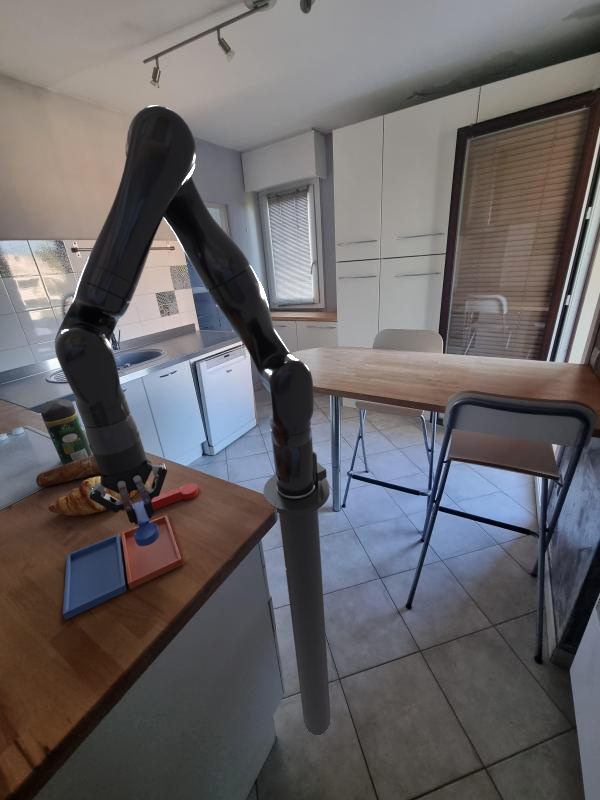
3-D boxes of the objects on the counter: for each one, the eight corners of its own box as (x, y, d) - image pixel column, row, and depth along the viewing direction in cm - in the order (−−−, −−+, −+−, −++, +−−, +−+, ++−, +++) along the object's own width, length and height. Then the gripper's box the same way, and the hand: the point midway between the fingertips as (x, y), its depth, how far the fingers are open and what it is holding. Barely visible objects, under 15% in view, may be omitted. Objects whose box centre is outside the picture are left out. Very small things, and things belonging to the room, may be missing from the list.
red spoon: (153, 513, 75) (150, 505, 74) (150, 503, 78) (148, 496, 77) (200, 495, 80) (198, 487, 79) (195, 486, 83) (194, 479, 82)
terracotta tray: (168, 519, 73) (166, 514, 72) (182, 564, 62) (181, 558, 61) (123, 537, 69) (121, 532, 68) (130, 589, 57) (127, 583, 57)
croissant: (153, 494, 87) (147, 463, 87) (149, 499, 77) (143, 465, 78) (58, 519, 79) (52, 486, 80) (41, 529, 70) (34, 492, 70)
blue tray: (120, 538, 68) (118, 533, 68) (127, 590, 57) (124, 585, 57) (69, 559, 64) (66, 554, 64) (65, 619, 53) (62, 614, 53)
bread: (118, 472, 91) (112, 455, 89) (36, 493, 85) (28, 475, 83) (120, 461, 96) (115, 444, 94) (43, 479, 90) (35, 462, 88)
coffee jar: (60, 457, 101) (36, 401, 93) (89, 448, 105) (69, 393, 98) (63, 471, 93) (38, 412, 86) (95, 460, 98) (73, 402, 90)
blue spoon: (130, 514, 66) (127, 505, 65) (151, 506, 68) (149, 497, 67) (137, 550, 58) (134, 540, 57) (161, 539, 60) (158, 530, 59)
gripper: (154, 421, 63) (175, 494, 70) (70, 445, 57) (102, 523, 64) (161, 437, 57) (183, 515, 64) (68, 465, 51) (104, 548, 58)
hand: (143, 518), depth 64 cm, fingers closed on blue spoon, 2 cm apart
